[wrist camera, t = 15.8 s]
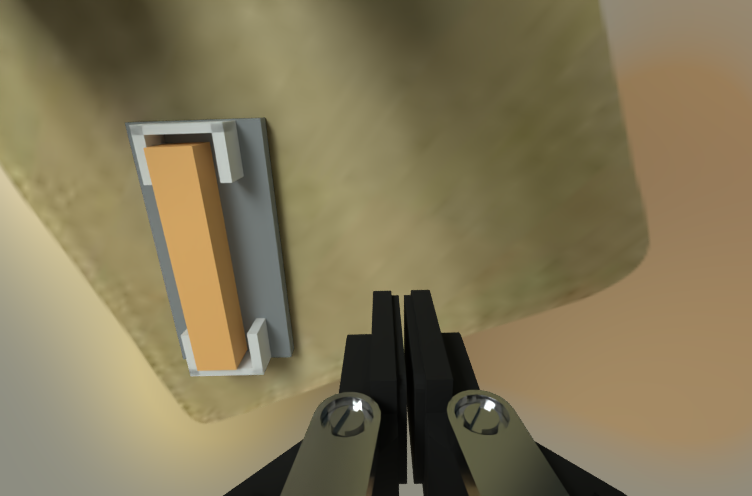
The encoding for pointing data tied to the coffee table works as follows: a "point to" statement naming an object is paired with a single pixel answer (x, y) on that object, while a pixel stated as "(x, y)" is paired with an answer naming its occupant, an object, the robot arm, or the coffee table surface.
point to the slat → (198, 251)
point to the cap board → (230, 231)
